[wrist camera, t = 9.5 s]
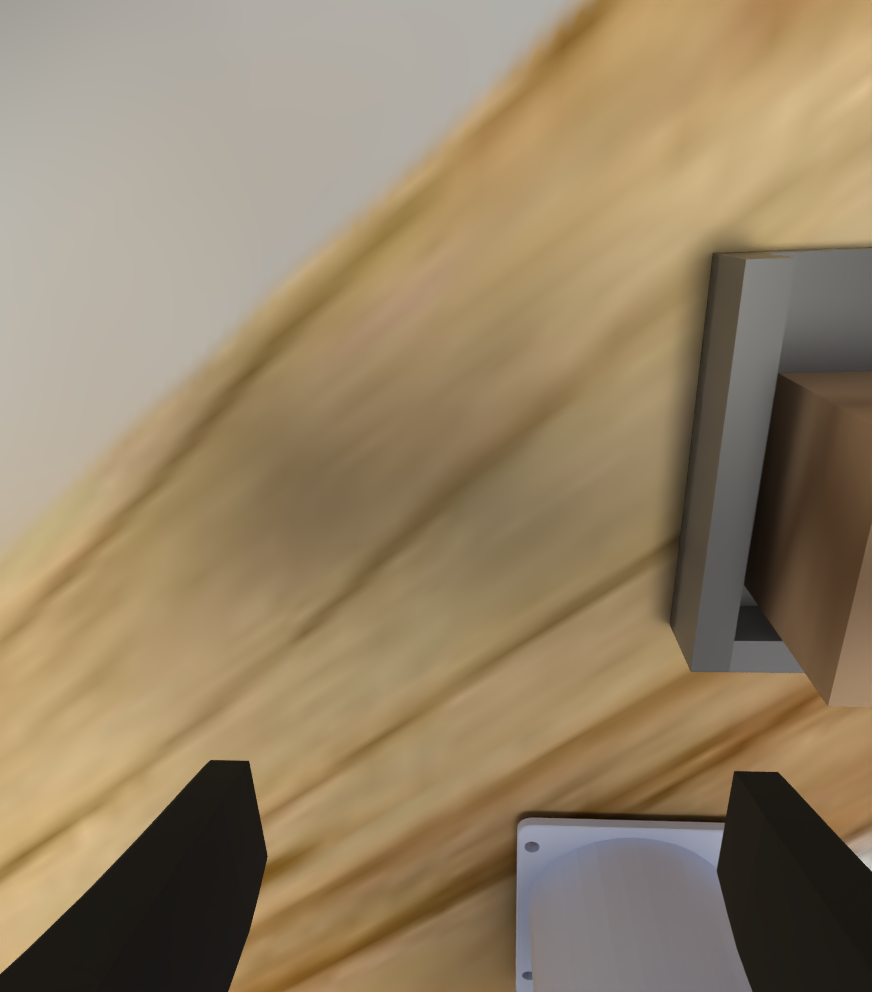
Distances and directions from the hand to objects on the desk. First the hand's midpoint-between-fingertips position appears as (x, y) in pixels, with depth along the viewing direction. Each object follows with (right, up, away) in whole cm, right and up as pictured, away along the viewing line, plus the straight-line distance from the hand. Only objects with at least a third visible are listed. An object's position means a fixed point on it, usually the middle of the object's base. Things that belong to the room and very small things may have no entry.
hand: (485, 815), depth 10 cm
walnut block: (+9, +5, +7) cm, 13 cm away
